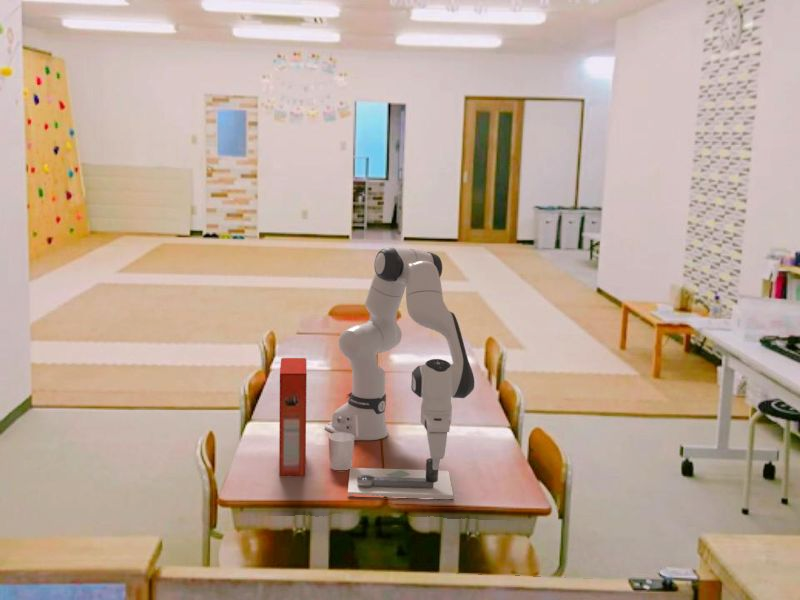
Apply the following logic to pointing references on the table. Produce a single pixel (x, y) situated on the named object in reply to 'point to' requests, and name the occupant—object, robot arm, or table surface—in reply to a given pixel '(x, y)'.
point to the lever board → (438, 491)
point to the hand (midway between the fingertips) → (434, 462)
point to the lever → (401, 479)
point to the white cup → (341, 450)
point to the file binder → (292, 417)
